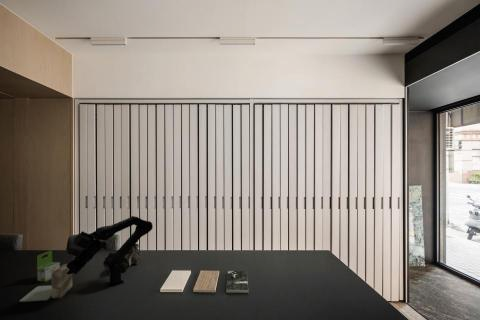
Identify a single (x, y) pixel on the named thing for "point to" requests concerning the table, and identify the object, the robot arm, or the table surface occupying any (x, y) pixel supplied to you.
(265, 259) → the table surface
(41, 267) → the ink box
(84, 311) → the table surface
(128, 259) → the hollow geode rock
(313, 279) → the table surface
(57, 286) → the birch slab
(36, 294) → the mat
